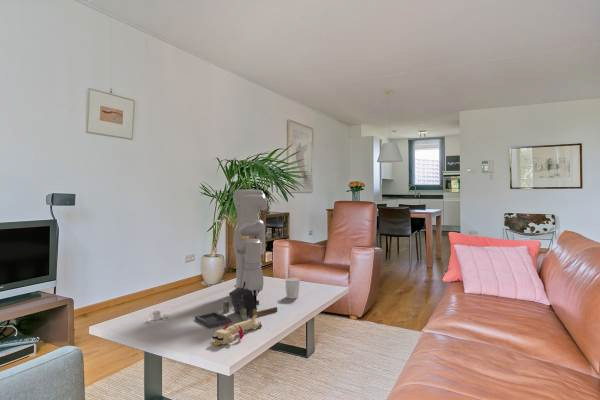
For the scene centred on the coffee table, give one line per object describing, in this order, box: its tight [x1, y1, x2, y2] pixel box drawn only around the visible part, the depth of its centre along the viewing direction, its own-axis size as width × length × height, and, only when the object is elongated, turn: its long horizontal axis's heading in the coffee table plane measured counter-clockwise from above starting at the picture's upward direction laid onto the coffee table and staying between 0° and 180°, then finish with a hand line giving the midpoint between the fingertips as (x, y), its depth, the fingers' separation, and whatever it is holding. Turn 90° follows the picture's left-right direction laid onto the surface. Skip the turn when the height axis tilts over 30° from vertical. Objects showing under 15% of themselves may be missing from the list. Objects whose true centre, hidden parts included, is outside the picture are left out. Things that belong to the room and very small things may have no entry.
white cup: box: [285, 277, 301, 300], centre depth 196 cm, size 8×8×10 cm
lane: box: [222, 299, 278, 322], centre depth 170 cm, size 17×20×5 cm
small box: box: [228, 287, 258, 317], centre depth 167 cm, size 11×6×10 cm, turn 48°
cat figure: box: [212, 309, 263, 346], centre depth 141 cm, size 10×9×25 cm
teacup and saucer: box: [146, 310, 169, 324], centre depth 159 cm, size 9×8×4 cm
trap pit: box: [194, 311, 233, 329], centre depth 157 cm, size 14×10×2 cm
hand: (253, 304), depth 171 cm, fingers closed
